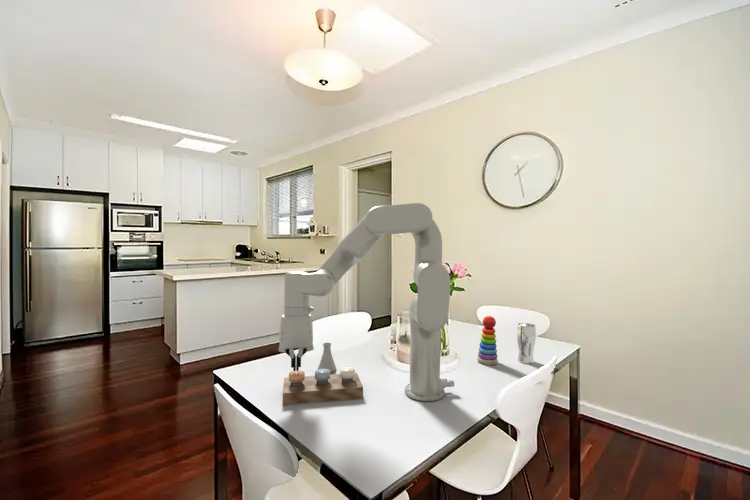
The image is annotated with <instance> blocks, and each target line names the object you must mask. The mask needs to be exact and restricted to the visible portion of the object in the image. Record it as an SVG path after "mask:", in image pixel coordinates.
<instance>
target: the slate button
mask: <svg viewBox="0 0 750 500" xmlns="http://www.w3.org/2000/svg"><path fill="white" fill-rule="evenodd" d="M330 375H331V373H330V370H329V369H318V368H317V369H316V370H315V371H314V376H315V379H316V380H317V385H324V384H328V379H330Z"/></svg>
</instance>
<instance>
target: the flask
mask: <svg viewBox="0 0 750 500" xmlns="http://www.w3.org/2000/svg"><path fill="white" fill-rule="evenodd" d="M322 346H323V351H322V355H321V359H320V361H319V364H318V367H317V370H318V369H329V370H330V374H331V373H333V372H336V371H337V366H336V363H335V360H334V357H333V354H332V351H331V346H332V343H331V342H324V343H322Z"/></svg>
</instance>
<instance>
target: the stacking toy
mask: <svg viewBox="0 0 750 500" xmlns="http://www.w3.org/2000/svg"><path fill="white" fill-rule="evenodd" d="M496 323H497V322H496V319H495V318H494V316H491V315H487V316H484V318H483V320H482V325H483V326H484V327H482V329H481V330H482V332H481V338H480V342H479V347H478V353H477V358H476V359H477V362H478V363H480V364H482V365H486V366H493V365H497V364H498V362H499V361H498V353H497V352H498V350H497V344H496V343H497V339H496V336H497V335H496V334H495V333H496V329H495V326H496Z"/></svg>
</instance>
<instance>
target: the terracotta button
mask: <svg viewBox="0 0 750 500" xmlns="http://www.w3.org/2000/svg"><path fill="white" fill-rule="evenodd" d="M305 373H306V372H305V371H304V370H300V369H299V371H293V370H292V371H289V372H288V378H289V381H290V382H292V387H297V386H302V381H303V380H304V379H305V376H306V375H305Z"/></svg>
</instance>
